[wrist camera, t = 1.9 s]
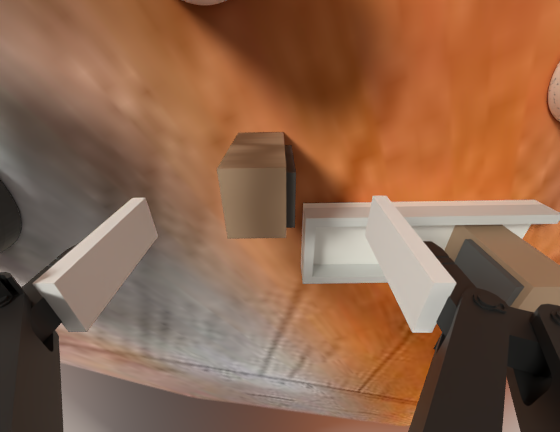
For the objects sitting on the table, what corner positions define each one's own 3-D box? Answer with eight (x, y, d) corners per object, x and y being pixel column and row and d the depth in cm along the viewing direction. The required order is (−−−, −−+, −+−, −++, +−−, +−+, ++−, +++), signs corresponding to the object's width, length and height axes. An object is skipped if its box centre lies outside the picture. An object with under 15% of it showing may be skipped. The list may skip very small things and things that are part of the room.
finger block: (243, 184, 24) (227, 238, 17) (238, 132, 22) (216, 168, 14) (289, 183, 24) (295, 237, 17) (290, 132, 22) (296, 167, 14)
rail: (300, 265, 30) (309, 344, 21) (303, 203, 25) (315, 272, 17) (497, 262, 30) (585, 340, 21) (534, 199, 25) (664, 267, 17)
